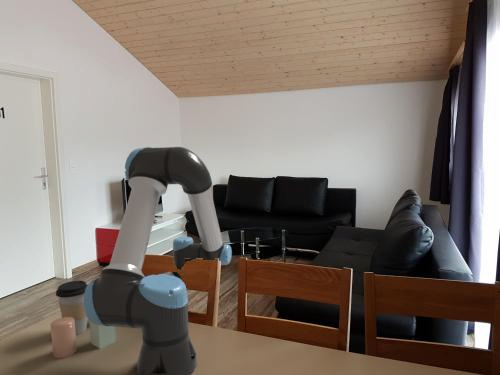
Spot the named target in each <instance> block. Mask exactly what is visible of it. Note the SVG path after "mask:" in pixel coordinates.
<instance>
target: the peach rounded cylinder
mask: <svg viewBox="0 0 500 375" xmlns="http://www.w3.org/2000/svg"><path fill="white" fill-rule="evenodd" d="M49 325H50V334H51V335H50V336H51V345H52V356H53V358H55V359H58V360H59V359H65V358H69V357H71V356H73V355H75V354H76V353H77V351H78V346H77V337H76V336H77V335H76V333H75V321H74V318H72V317H64V318H62V317H60V318H57V319H54V320H53V321H52V322H50V324H49ZM75 352H76V353H75Z"/></svg>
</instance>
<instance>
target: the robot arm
mask: <svg viewBox="0 0 500 375" xmlns="http://www.w3.org/2000/svg"><path fill="white" fill-rule="evenodd" d="M124 170H125V171H124V174H125V178H126V180H127V182H128V186H129V187H130V188H131V190H130V193H129V194H130V195H129V197H128V201H127V204H126V208H125V212H124V214H123V218H122V222H121V225H120V227H119V231H118V235H117V238H116V242H115V245H114V249H113V250H112V251H113V252H112V256H111V259H110V262H109V265H107V266H105V267H103V268H102V269H101V271H100V275H99V277H97V278H94V279H92V280H90V281H89V283H88V284H87V285H88V286H87V287H86V290H85V293H84V301H83V304H84V310H85V313H86V316H87V320H88V319H89V320H90V321H91V322H92V323H94V324H99V325H104V326H115V327H118V328H120V327H121V328H129V329H137V330H138V329H140V330H141V334H142V337H141V338H142V344H141V346H140V350H139V354H138V358H137V361H136V373H137V375H191V374H192V373H193V372H194V371H195V369H196V367H197V360H198V359H197V352H196V350H195V346H194V344H193V342H192V340H191V337H190V334H189V333H190V332H189V331H190V330H189V309H188V308H189V304H188V302H189V297H188V292H187V288H186V285H185V283H184V282H183V281H182V278H181V276H180V275H179V274H178V273H177V272H171V271H168V272H163V273H159V274H157V275H156V274H150V275H147V276H145V275H144V273H143V272H142V270H143V265H144V261H145V258H146V254H147V249H148V245H149V241H150V237H151V233H152V229H153V225H154V222H155V216H156V214H157V210H158V205H159V202H160V197H161V196H163V195H165V194H166V193H167V190H168V187H169V185H179V186H181V188H182V191H183V193H184V194H187V199H188V200H189V205H190V207H191V210H192V211H191V212H192V214H193V217H194V220H195V221H194V222H195V225H196V228H197V232H198V235H199V239H200V243H199V242H198V243H196V242H195V243H194V239H193V238H192V237H191V236H178V237H175V238H174V240H173V241H172V253H173V254H172V255H173V257H174V258H172V259H174V260H173V265H174V264H175V265H176V267H177V269H180V270H181V268H182V267H183V266H184V264H185V263H186V262H187V261H191V260H193V259H196V258H203V260H215V258H219V261H221V265H220V266H227V265H229V264H230V263H231V261H232V256H233V255H232V254H233V251H232V247H231V245H230V244H226V243H223V237H222V233H221V229H220V226H219V225H220V224H219V220H218V217H217V213H216V211H217V210H216V207H215V203H214V199H213V195H212V190H211V188H212V186H213V182H212V177H211V174H210V170H208V167H207V166H206V164H205V163H204V161H203V160H202V159H201V158H200V157H199V156H198V155H197V154H195V153H194V152H193V151H192V150H190V149H188V148H185V147H182V146H171V147H164V146H163V147H149V146H145V147H140V148H135V149H133V150H131V151H130V153H129V155H128V157H126V161H125V164H124ZM184 258H190V259H184ZM90 321H89V322H90Z"/></svg>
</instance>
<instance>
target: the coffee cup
mask: <svg viewBox="0 0 500 375" xmlns="http://www.w3.org/2000/svg"><path fill="white" fill-rule="evenodd" d="M87 286H88V284H87V282H86V281H84V280H72V281H67V282H64V283H62V284H60V285H58V287H57V289H56V291H55V296H56V297H58V305H59V308H60V314H61V318H64V317H72V318H74V321H75V333H76V336H78V335H81V334H83V333H84V332H86V330H87V321H88V318H87V316H86V313H85V310H84V304H83V301H84V293H85V290H86V287H87Z"/></svg>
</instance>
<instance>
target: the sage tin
mask: <svg viewBox="0 0 500 375" xmlns="http://www.w3.org/2000/svg"><path fill="white" fill-rule="evenodd" d="M87 321H88V322H89V332H90V344H92V345H93V346H95V347H96V348H98V349H99V350H101V349H103V348H105V347H107V346H110V345H112V344H114V343H116V342H117V337H116V326H104V325H99V324H94V323H92V322H91V321H90V320H89V319H88V318H87Z"/></svg>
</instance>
